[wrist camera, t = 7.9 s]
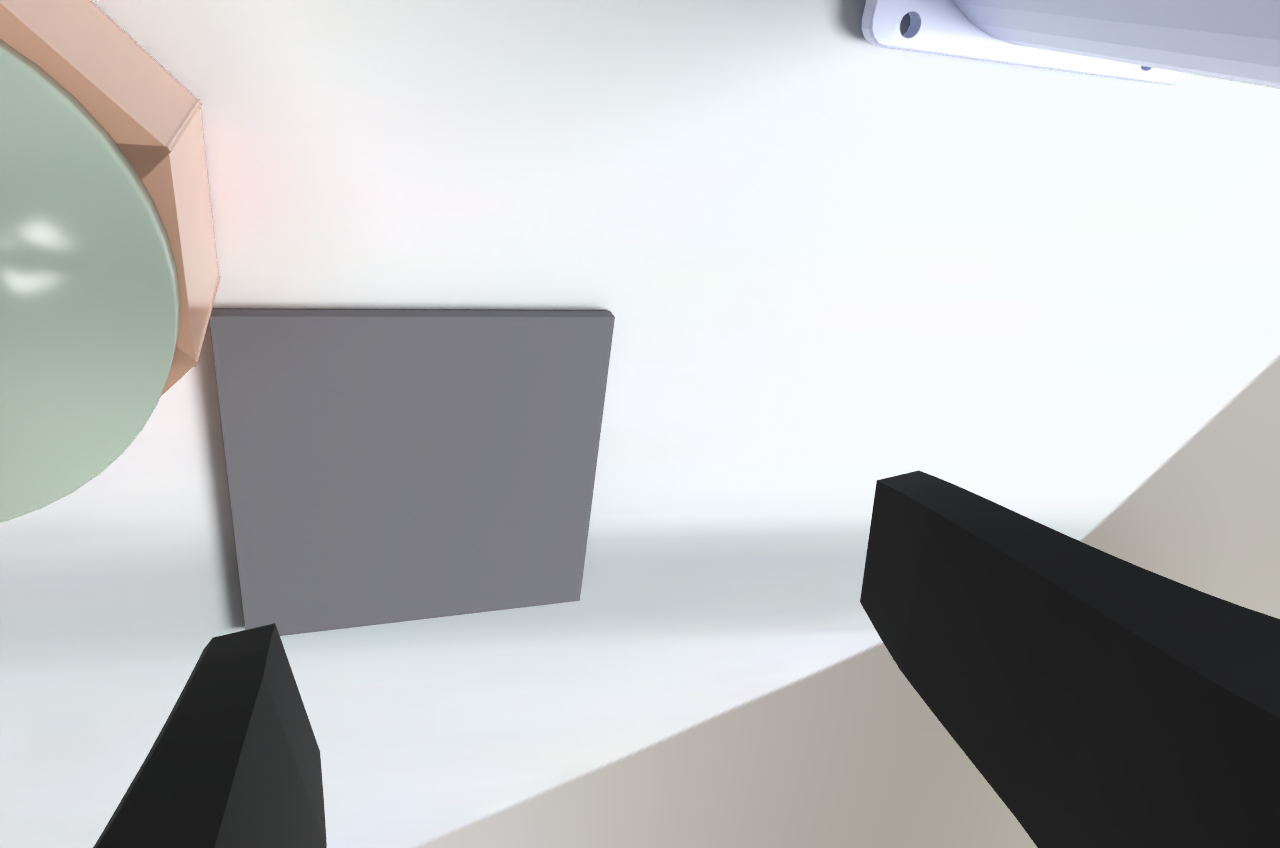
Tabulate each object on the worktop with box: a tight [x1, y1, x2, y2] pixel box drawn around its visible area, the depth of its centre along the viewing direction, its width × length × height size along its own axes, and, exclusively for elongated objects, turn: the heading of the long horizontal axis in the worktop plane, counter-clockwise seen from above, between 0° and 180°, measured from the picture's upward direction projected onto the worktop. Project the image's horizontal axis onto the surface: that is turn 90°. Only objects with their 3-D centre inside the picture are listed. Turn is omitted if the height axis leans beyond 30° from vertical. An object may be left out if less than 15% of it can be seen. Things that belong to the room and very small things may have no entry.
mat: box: [209, 309, 615, 636], centre depth 20 cm, size 8×8×1 cm
